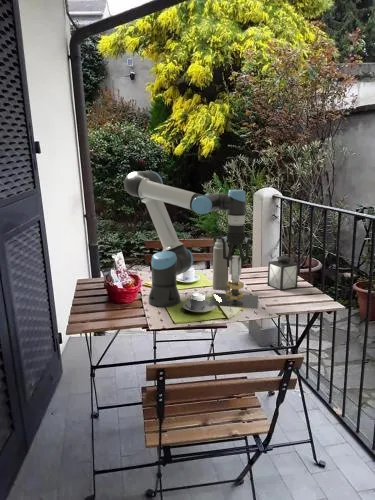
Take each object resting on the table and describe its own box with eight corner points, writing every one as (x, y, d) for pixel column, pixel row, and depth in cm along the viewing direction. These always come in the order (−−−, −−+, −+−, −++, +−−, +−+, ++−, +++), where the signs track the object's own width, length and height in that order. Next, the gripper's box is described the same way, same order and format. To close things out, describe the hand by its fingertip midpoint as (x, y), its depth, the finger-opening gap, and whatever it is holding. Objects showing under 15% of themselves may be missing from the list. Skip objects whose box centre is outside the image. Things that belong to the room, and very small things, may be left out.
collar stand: (208, 308, 188) (208, 286, 186) (213, 295, 205) (213, 275, 203) (257, 311, 184) (258, 289, 181) (258, 298, 201) (259, 277, 199)
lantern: (283, 282, 227) (285, 232, 221) (297, 288, 218) (300, 236, 212) (267, 285, 222) (269, 234, 216) (281, 291, 212) (283, 237, 206)
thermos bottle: (228, 286, 219) (229, 235, 213) (227, 291, 212) (228, 238, 206) (213, 286, 221) (214, 234, 215) (211, 290, 213) (212, 237, 207)
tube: (230, 292, 196) (231, 255, 192) (239, 292, 195) (240, 255, 191) (230, 294, 192) (230, 257, 188) (238, 295, 191) (239, 257, 187)
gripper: (216, 225, 184) (215, 275, 189) (255, 226, 181) (253, 277, 186) (218, 222, 192) (217, 271, 197) (255, 223, 188) (253, 272, 193)
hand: (235, 273), depth 191 cm, fingers closed on tube, 4 cm apart
